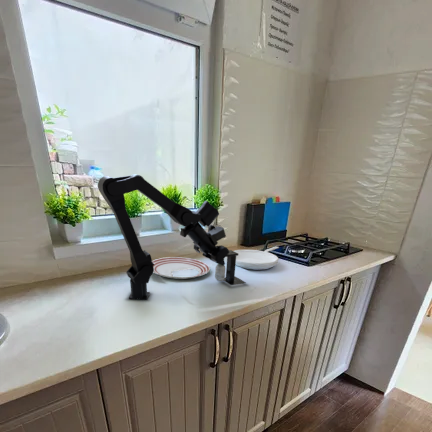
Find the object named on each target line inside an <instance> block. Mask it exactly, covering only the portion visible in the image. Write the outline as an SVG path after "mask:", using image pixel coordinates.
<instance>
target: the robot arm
mask: <svg viewBox="0 0 432 432" xmlns="http://www.w3.org/2000/svg"><path fill="white" fill-rule="evenodd" d="M97 188H98V192H99V193H100V195H101V197H102V198H103V199H104V201H105V202H106V204H107V206H108V207H109V208H110V209H111V211H112V213H113V215H114V218H115V220H116V223H117V225H118V227H119V229H120V232H121V234H122V237H123V239H124V242H125V243H126V246H127V248H128V251H129V256H130V257H129V258H130V263H131V265H130V267H129V268H128V269H127V271H126V275H127V277H128V278H129V279H130V280H129V283H130V284H129V285H130V295H129V296H128V300H142V301H143V300H144V301H146V300H148V299H149V296H150V294H151V293H150V291H148V284H149V282H150V279H151V276H152V275H153V274H154V273H153V272H154V267H153V266H154V264H153V262H152V261H153V259H152V255H151V253H149V252H148V251H147V250H145V249H144V250H143V248H142V245H141V243H140V240H139V238H138V234H137V232H136V230H135V228H134V225H133V223H132V220H131V218H130V215H129V213H128V210H127V208H126V198H125V195H126V194H130V193H132V192H135V191H138V192H139V193H140V194H142V195H143V196H144V197H146V198H147V199H149V201H152V203H154V204H156V206H158V207H160V208H161V209H162V210H163V211H164V212H165V213H166V214H167V216H168V217H169V218H170V219H171V220H172V221H173V222H174V223H176V224H178V225H180V226H181V227H180V231H179V232H180V233H179V235H180V236H181V237H183V238H186V237H187V236H188V237H189V238H190V239H191V240H192V243H193V250H194V251H195V252H196V253H198V254H200V253H202V256H203V257H205V258H207V259H209V260H210V261H212V262H214V263H216V264H221V265H223V266H225V264H226V262H225V258H227V257H226V256H227V254H228V253H229V250H230V249H228V247H227V246H224V245H223V244H222V245H218V244H219V242H218V241H220V240H222V239H224V238H226V237H227V234H226V231H225V228H224V227H222V226H218V225H217V226H216V225H213V224H212V223H213V222H214V221H215V220H216V219H217V218H218V217H219V216H220V213H219V211H218V209H217V208H216V207H214V205H212V204H211V203H210V202H209V201H207V200H204V201H203V203H202V204H201V205H200V207H199V208H198V209H197V210H196V211H193V210H191V209H190V208H187V207H186V206H184V205H182V204H180V203H177V202H175V201H174V200H172V199H171V198H169V197H168V196H167V195H165V194H164V193H163V192H161V191H160V190H159V189H157V188H156V187H155V186H154V185H152V184H151V183H150V182H149V181H147V180H146V179H145V178H144V176H142V175H140V174H135V173H133V174H130V175H124V176H118V177H117V176H116V177H112V176H108V175H104V176H102V177H100V179H99V180H98V182H97ZM205 227H208V229H207V231H206V230H205V229H204V228H205Z"/></svg>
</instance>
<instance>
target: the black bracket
mask: <svg viewBox="0 0 432 432" xmlns="http://www.w3.org/2000/svg"><path fill="white" fill-rule="evenodd" d="M228 250H229V253H228V254H227V256H226V257H225V258H226V266H225V278H224V280H223V281H224V282H225V283H227V284H228V285H230V286H236V285H242V284H247V282H246V281H244V280H242V279H240V278H239V277H237V276H235V274H236V256H238V253H236V252H234V251H235V250H232V249H228Z"/></svg>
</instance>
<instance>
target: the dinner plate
mask: <svg viewBox="0 0 432 432" xmlns="http://www.w3.org/2000/svg"><path fill="white" fill-rule="evenodd" d="M152 262H153V264H154V266H153V267H154V272H153V274H155V275H157V276H160V277H163V278H168V279H172V280H173V279H174V280H187V279H188V280H189V279H195V278H198V277H199V278H200V277H201V276H204V275H207V274H208V273H210V271H211V267H210V265H209V264H207V263H206V262H204V261H202V260H198V259H195V258H190V257H181V256H167V257H166V256H165V257H160V258H156V259H152ZM188 270H195V271H197V272H198V273H197V274H195V275H193V276H174V273H173V272H179V271H188Z"/></svg>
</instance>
